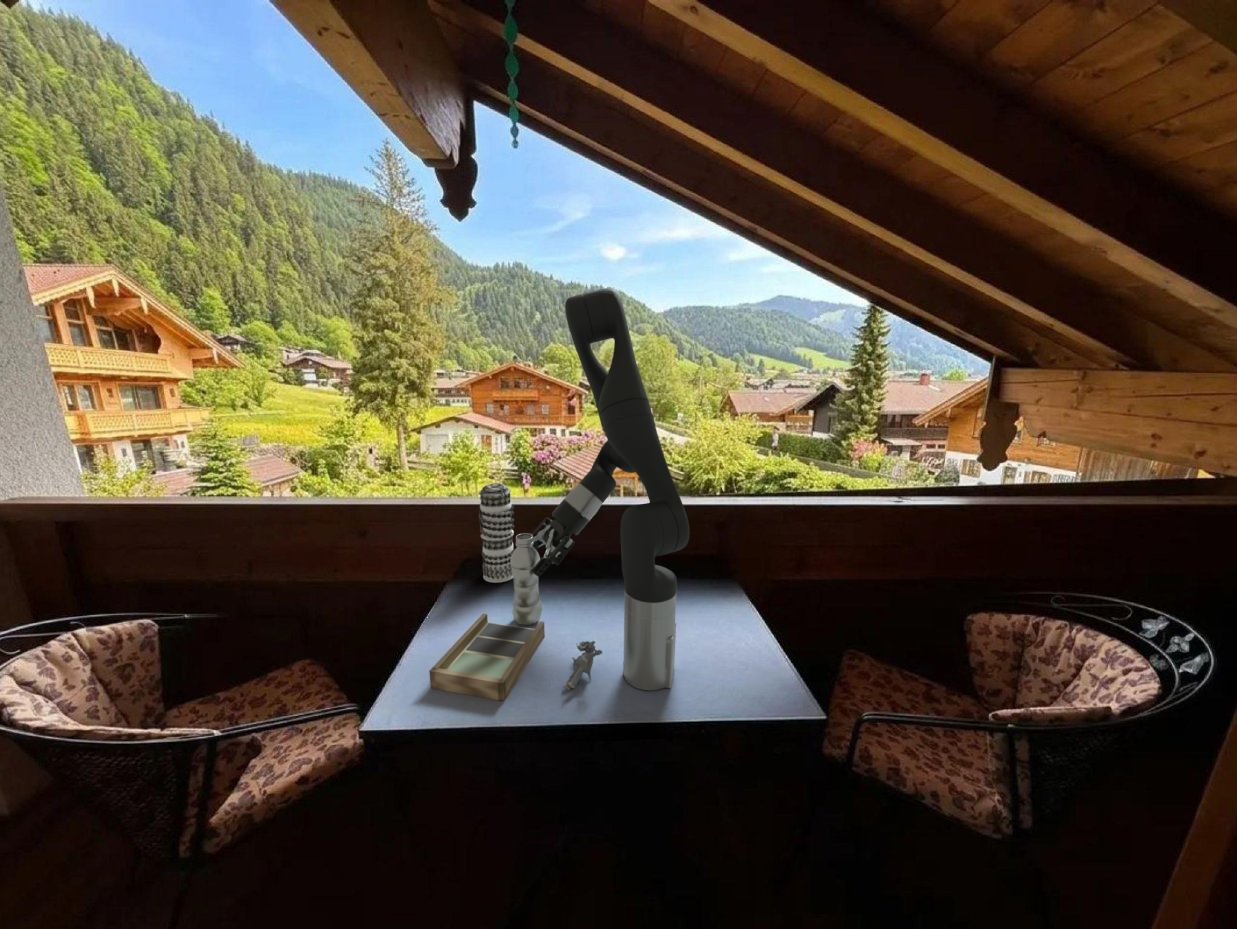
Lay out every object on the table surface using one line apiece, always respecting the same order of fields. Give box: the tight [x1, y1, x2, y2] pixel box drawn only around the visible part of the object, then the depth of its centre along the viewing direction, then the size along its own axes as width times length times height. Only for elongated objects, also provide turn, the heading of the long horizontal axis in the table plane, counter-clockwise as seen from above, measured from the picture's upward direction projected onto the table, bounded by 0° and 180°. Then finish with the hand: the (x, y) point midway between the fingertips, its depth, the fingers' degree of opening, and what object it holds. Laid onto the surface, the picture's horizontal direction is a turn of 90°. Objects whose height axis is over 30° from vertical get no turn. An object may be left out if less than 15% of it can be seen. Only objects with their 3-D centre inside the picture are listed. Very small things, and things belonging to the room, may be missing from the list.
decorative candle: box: [476, 482, 515, 584], centre depth 121 cm, size 9×9×25 cm
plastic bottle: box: [510, 532, 543, 626], centre depth 100 cm, size 6×7×20 cm
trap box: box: [428, 613, 546, 702], centre depth 89 cm, size 14×19×4 cm
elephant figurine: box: [562, 640, 603, 691], centre depth 84 cm, size 10×6×9 cm
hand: (529, 565), depth 100 cm, fingers open, 8 cm apart
